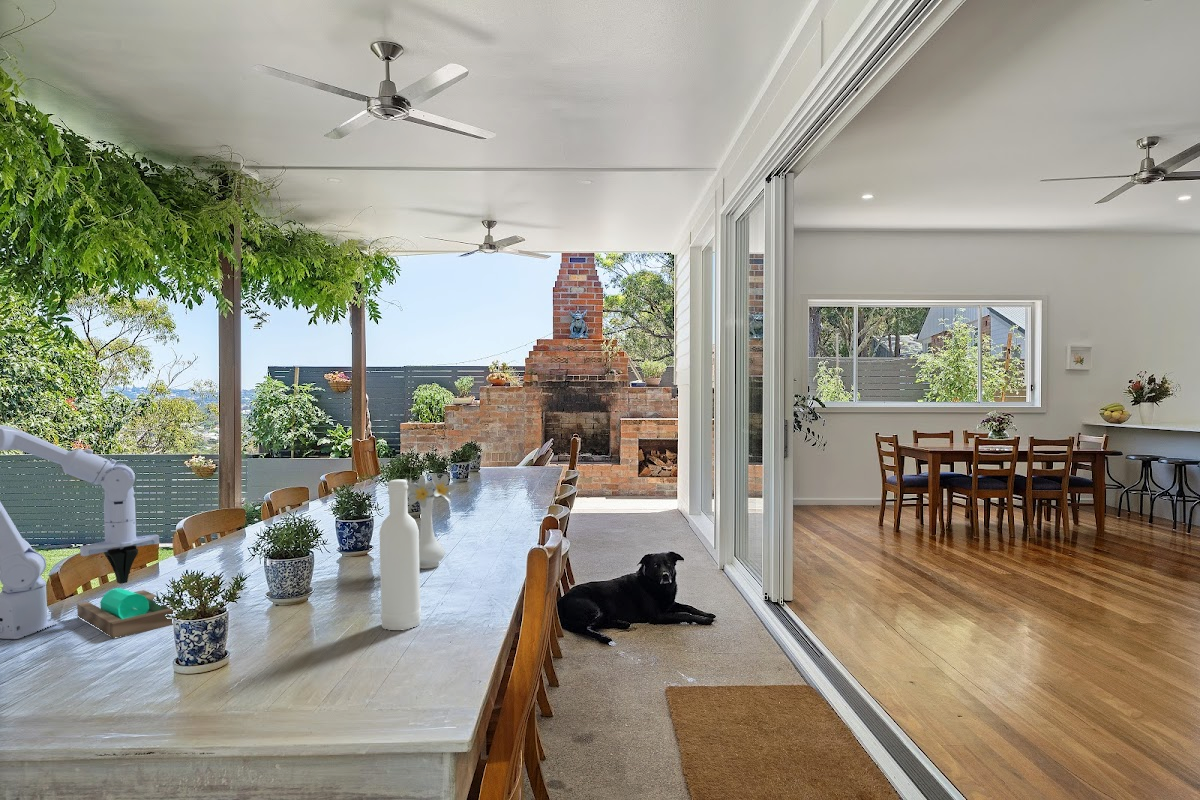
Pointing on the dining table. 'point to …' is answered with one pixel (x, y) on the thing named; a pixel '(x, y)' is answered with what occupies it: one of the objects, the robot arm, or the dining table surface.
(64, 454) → the robot arm
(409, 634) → the dining table surface
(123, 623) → the u rest
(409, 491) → the flower vase
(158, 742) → the dining table surface
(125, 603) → the candle
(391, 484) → the bottle
